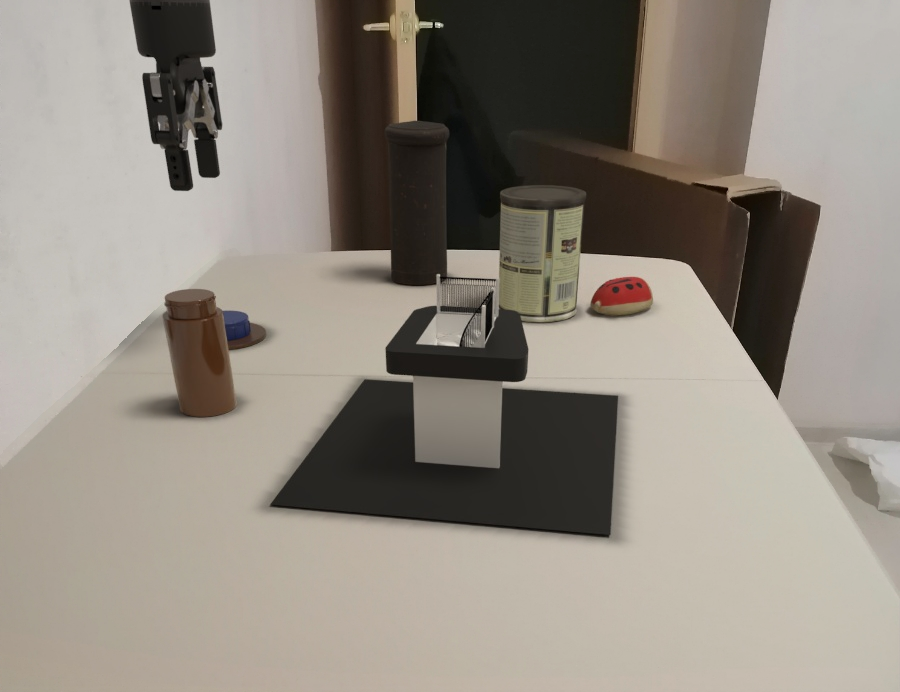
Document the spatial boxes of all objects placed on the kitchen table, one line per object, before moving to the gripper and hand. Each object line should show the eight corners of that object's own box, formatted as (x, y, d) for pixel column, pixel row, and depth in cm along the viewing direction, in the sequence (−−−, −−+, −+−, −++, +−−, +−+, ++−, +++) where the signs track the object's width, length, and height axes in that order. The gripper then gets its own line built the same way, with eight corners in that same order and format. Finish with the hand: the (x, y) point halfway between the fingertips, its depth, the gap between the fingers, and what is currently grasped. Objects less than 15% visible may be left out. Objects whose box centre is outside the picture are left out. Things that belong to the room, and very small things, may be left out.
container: (455, 272, 125) (456, 118, 114) (441, 288, 118) (440, 125, 107) (399, 269, 127) (394, 116, 116) (382, 284, 120) (375, 123, 108)
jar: (173, 416, 80) (150, 303, 74) (188, 395, 85) (168, 287, 79) (229, 417, 80) (211, 303, 74) (242, 396, 85) (226, 287, 79)
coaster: (167, 349, 97) (167, 346, 96) (196, 323, 105) (196, 320, 105) (253, 352, 96) (252, 348, 96) (275, 325, 104) (275, 322, 104)
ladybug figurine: (664, 307, 111) (668, 278, 109) (618, 322, 105) (621, 293, 103) (622, 296, 115) (625, 269, 113) (576, 311, 109) (578, 283, 107)
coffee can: (513, 296, 115) (518, 182, 107) (586, 305, 111) (597, 188, 103) (484, 316, 107) (486, 195, 99) (561, 327, 103) (570, 201, 95)
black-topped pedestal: (610, 536, 62) (632, 357, 54) (270, 506, 66) (246, 334, 58) (618, 396, 84) (634, 256, 77) (364, 380, 88) (356, 245, 81)
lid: (256, 327, 102) (254, 311, 101) (240, 342, 97) (238, 325, 96) (211, 325, 103) (209, 309, 102) (193, 340, 98) (190, 323, 97)
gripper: (160, -1, 88) (186, 173, 97) (99, -4, 76) (136, 194, 85) (230, 0, 87) (250, 174, 96) (180, -3, 75) (208, 196, 85)
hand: (196, 183), depth 91 cm, fingers open, 8 cm apart
